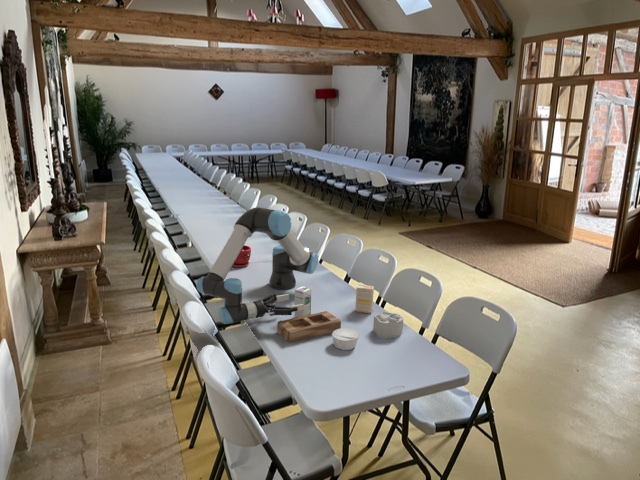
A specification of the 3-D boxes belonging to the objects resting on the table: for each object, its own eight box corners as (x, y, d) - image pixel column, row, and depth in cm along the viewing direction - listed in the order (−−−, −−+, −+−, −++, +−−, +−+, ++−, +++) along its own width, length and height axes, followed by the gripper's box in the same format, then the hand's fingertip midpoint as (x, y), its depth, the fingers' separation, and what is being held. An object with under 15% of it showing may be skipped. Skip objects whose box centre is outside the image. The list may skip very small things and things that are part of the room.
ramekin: (336, 353, 195) (336, 341, 194) (328, 340, 205) (328, 329, 204) (361, 350, 198) (362, 338, 197) (352, 338, 209) (353, 327, 207)
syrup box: (303, 320, 224) (304, 291, 220) (293, 317, 227) (294, 288, 223) (310, 316, 228) (311, 288, 224) (301, 313, 232) (301, 285, 228)
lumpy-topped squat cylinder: (371, 328, 219) (372, 311, 216) (396, 325, 222) (398, 308, 220) (379, 338, 209) (381, 320, 207) (406, 336, 213) (408, 318, 210)
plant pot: (236, 270, 289) (236, 251, 286) (226, 264, 298) (225, 246, 295) (254, 266, 297) (254, 248, 294) (244, 261, 307) (244, 243, 303)
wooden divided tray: (277, 332, 211) (277, 321, 210) (326, 320, 224) (326, 310, 223) (290, 343, 201) (290, 332, 200) (340, 330, 215) (341, 320, 213)
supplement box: (372, 310, 238) (374, 286, 235) (371, 314, 234) (372, 289, 230) (356, 308, 240) (358, 283, 237) (354, 311, 236) (356, 287, 232)
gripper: (243, 307, 223) (283, 299, 234) (265, 328, 203) (308, 319, 214) (243, 292, 221) (283, 285, 232) (265, 312, 201) (309, 303, 212)
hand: (295, 301), depth 223 cm, fingers open, 13 cm apart
